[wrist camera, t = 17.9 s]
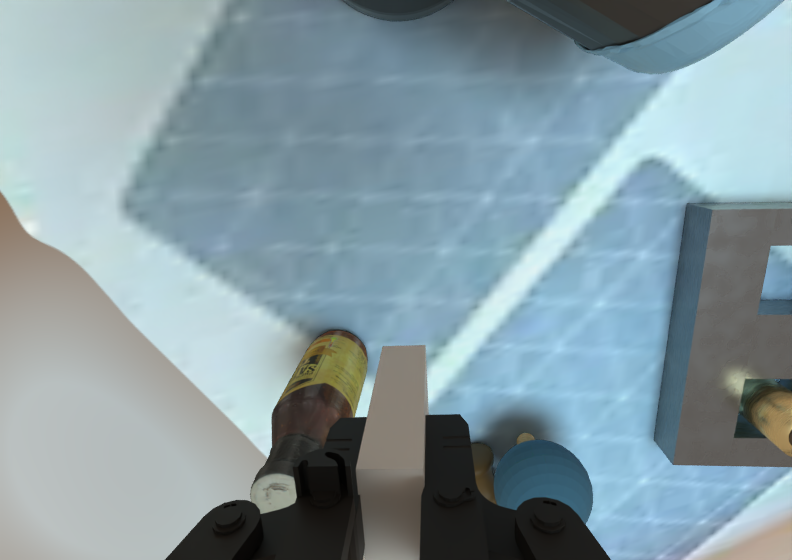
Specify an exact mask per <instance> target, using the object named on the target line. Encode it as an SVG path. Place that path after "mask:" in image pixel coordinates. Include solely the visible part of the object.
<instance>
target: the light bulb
mask: <svg viewBox="0 0 792 560" xmlns="http://www.w3.org/2000/svg"><path fill="white" fill-rule="evenodd" d="M494 495H495V500H496V503H497V505H499V506H502V507H505V508H509V509H513V510H517V507H518V506H519V505H520V504H521V503H523V502H524V501H526V500H528V499H531V498H535V497H547V498H551V499H556V500H559V501H561V502H563V503H565V504H567V505H569V506H570V507H571V508H572V509H573V510H574V511H575V512H576V513H577V514H578V515H579V517H580V518H581V519H582V521H583V522H584V523H585V524H586V522H587V521H588V518H589V516H590V513H591V510H592V504H593V492H592V485H591V482H590V479H589V476H588V473H587V471H586V470H585V468H584V467H583V465H582V464H581V462H580V461H579V459H578V458H577V457H576V456H575V455H574V454H572V453H571V452H570V451H569V450H567V449H566V448H564V447H563V446H561V445H558V444H556V443H553V442H550V441H546V440H535V438H534V437H533V436H532V435H531V434H529V433H523V434H521V435H519V436H518V438H517V445H516V446H514V447H513V448H511V449H510V450H509V451H508V452H507V453H506V454H505V455H504V456H503V457H502V459H501V460H500V462H499V464H498V466H497V469H496V472H495V476H494Z"/></svg>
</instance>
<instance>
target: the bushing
mask: <svg viewBox="0 0 792 560" xmlns="http://www.w3.org/2000/svg"><path fill="white" fill-rule="evenodd" d="M739 414H740V415H742V416H743V417H744V418H745V419H746V420H747V421H749V422H750V423H751V424H752V425H753V426H754V427H755V428H757V429H758V430H759V431H760V432H761V433H762V434H763V435H765V436H766V437H767V438H768V439H769V440H770V441H771V442H773V443H774V444H775V445H776V446H777V447H778V448H779V449H781V450H782V451H783V452H784V453H785V454H787V455H788V456H790V457H792V391H790V390H789V389H787V388H786V387H784V386H783V385H782V384H780V383H779V382H777V381H776V380H774V379H745V381H744V387H743V392H742V397H741V402H740V407H739Z"/></svg>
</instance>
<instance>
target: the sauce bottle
mask: <svg viewBox="0 0 792 560" xmlns="http://www.w3.org/2000/svg"><path fill="white" fill-rule="evenodd" d="M367 360H368V359H367V353H366V348H365V346H364V345H363V344H362V342H361V341H360V340H359V339H358V338H357V337H356V336H354V335H352V334H351V333H348V332H346V331H341V330H337V331H336V330H335V331H329V332H326V333H324V334H323V335H321V336H320V337H318V338H317V339H316V340H315V341H314V342H313V343H312V344H311V345H310V346H309V348H308V349H307V351H306V353H305V355H304V356H303V358H302V360H301V362H300V363H299V365H298V367H297V368H296V371H295V372H294V374H293V376H292V378H291V379H290V381H289V383H288V385H287V387H286V388H285V390H284V392H283V394H282V396H281V397H280V399H279V401H278V403H277V405H276V406H275V408H274V410H273V413H272V448H271V450H270V455H269V457H268V459H267V461H266V463H265V465H264V466H263V467H262V468H261V469H260V470H259V472H258V473H257V475H256V477H255V480H254V482H253V484H252V487H251V493H250V497H251V502H252V503H255V504H256V505H257V507H258V508H259V509H260V513H261V514H263V513H267V512H271V511H275V510H279V509H282V508H285V507H288V506H290V505H292V504H294V503H295V501H296V498H297V495H296V488H295V481H294V474H293V465H294V464H295V462H296V461H297V460H298V459H299V458H300V457H302V456H303V455H305V454H306V453H309V452H312V451H314V450H318V449H323V447H324V444H325V442H326V438H327V435H328V433H329V430H330V427H331V426H332V425H334V424H335V423H336V422H337V421H338V420H339V419H340V418H354V417H355V413H356V410H357V406H358V402H359V399H360V395H361V391H362V388H363V384H364V380H365V376H366V372H367Z"/></svg>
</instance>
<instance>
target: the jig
mask: <svg viewBox="0 0 792 560" xmlns="http://www.w3.org/2000/svg"><path fill="white" fill-rule="evenodd" d="M778 245H792V202H755V203H690V204H687V207H686V214H685V221H684V229H683V236H682V243H681V250H680V257H679V264H678V271H677V278H676V285H675V293H674V300H673V307H672V314H671V321H670V328H669V335H668V342H667V349H666V357H665V364H664V371H663V378H662V385H661V392H660V399H659V406H658V413H657V421H656V428H655V435H654V441H655V442H656V443H657V445H658V446H659V447H660V449H661V450H662V451H663V453H664V454H665V455H666V456H667V458H668V459H669V460H670V462H671V463H672V464H673V465H705V466H760V467H792V457H790V456H788V455H787V454H785V453H784V452H783V451H782V450H781V449H779V448H778V447H777V446H776V445H775V444H774V443H773V442H771V441H770V440H769V439H768V438H767V437H766V436H765V435H763V434H762V433H761V432H760V431H759V430H758V429H757V428H755V427H754V426H753V425H752V424H751V423H750V422H749V421H747V420H746V419H745V418H744V417H743V416H742V415H738V413H739V407H740V402H741V397H742V392H743V387H744V381H745V379H780V382H779V383H780V384H782V385H783V386H784V387H786V388H787V389H789V390H790V391H792V300H760V298H761V293H762V288H763V283H764V277H765V272H766V267H767V262H768V256H769V251H770V246H778Z"/></svg>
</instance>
